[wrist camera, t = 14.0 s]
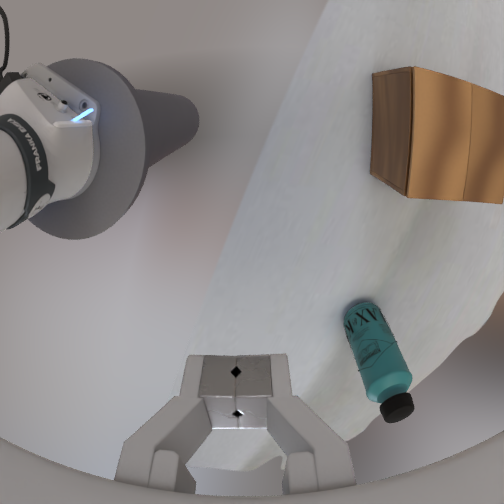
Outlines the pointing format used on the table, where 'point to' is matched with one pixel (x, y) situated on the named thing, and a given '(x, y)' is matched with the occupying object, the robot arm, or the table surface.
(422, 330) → the table surface
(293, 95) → the table surface
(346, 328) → the beverage bottle
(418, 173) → the flap
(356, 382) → the table surface
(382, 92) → the carton
